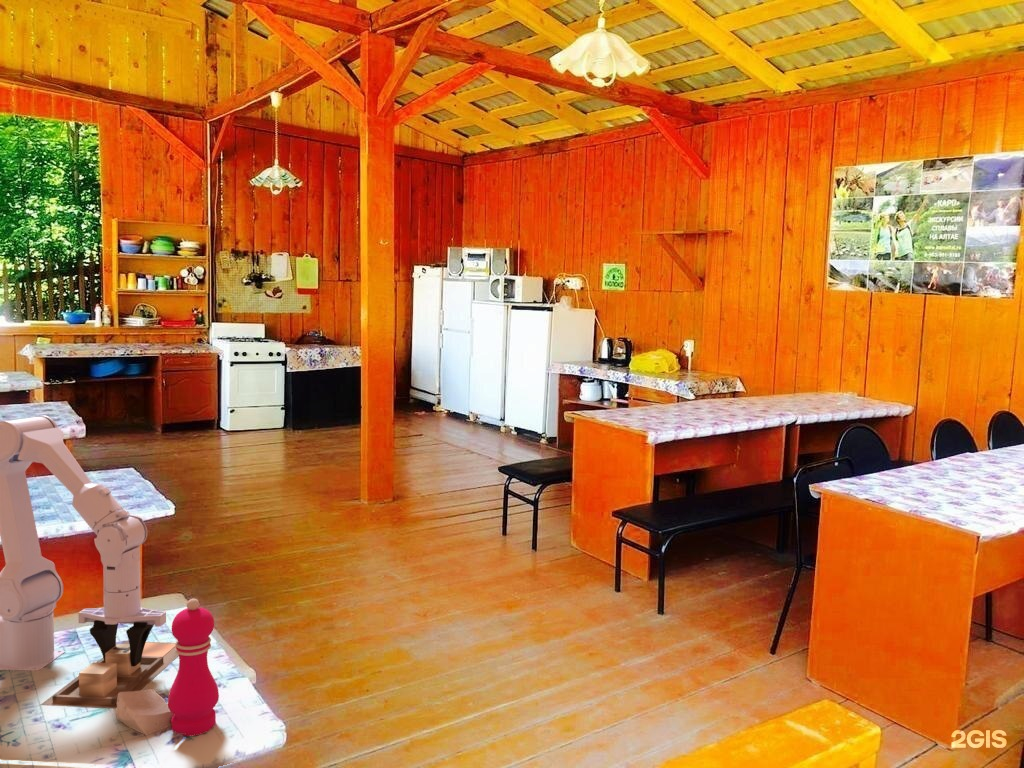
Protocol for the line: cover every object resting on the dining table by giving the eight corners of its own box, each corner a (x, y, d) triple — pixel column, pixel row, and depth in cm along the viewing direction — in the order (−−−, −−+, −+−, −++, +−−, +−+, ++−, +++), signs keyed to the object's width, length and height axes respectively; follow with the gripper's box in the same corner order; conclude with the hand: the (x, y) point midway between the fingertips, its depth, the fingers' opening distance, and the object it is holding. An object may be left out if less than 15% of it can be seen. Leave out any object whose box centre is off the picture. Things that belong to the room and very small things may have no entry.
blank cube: (79, 696, 126) (78, 673, 125) (93, 685, 130) (93, 662, 129) (103, 697, 125) (103, 674, 125) (116, 686, 129) (116, 663, 129)
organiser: (40, 707, 123) (40, 698, 123) (124, 643, 148) (124, 635, 148) (120, 711, 122) (120, 702, 122) (191, 646, 147) (191, 638, 147)
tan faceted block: (166, 751, 118) (180, 718, 117) (123, 755, 114) (138, 721, 113) (147, 707, 125) (161, 676, 124) (107, 710, 121) (121, 678, 120)
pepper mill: (169, 742, 114) (168, 610, 112) (166, 720, 120) (165, 594, 119) (221, 732, 117) (220, 603, 115) (216, 710, 123) (215, 588, 122)
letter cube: (105, 675, 133) (105, 652, 133) (118, 665, 137) (118, 643, 137) (128, 676, 133) (128, 653, 133) (140, 666, 137) (140, 644, 137)
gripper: (67, 593, 130) (68, 671, 131) (151, 596, 130) (152, 675, 131) (91, 580, 137) (92, 654, 138) (171, 583, 137) (172, 657, 138)
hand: (123, 663), depth 135 cm, fingers closed on letter cube, 4 cm apart
